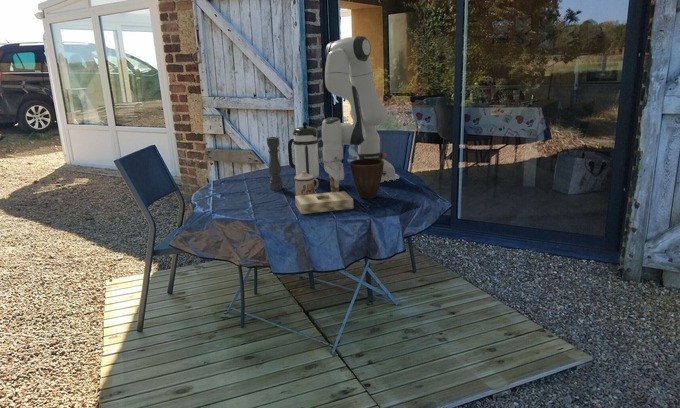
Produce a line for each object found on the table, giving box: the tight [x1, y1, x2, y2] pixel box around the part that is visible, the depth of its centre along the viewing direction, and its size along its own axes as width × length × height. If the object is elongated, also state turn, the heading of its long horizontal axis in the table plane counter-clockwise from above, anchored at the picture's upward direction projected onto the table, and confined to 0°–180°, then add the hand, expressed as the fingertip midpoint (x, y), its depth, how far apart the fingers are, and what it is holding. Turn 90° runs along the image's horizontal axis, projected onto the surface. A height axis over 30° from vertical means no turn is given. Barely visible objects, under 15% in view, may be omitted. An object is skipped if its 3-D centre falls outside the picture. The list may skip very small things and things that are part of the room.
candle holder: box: [266, 136, 284, 191], centre depth 236 cm, size 6×6×25 cm
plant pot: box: [349, 159, 384, 200], centre depth 217 cm, size 15×15×16 cm
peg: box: [329, 174, 340, 192], centre depth 218 cm, size 4×4×10 cm
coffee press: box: [287, 121, 323, 182], centre depth 251 cm, size 17×16×30 cm
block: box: [294, 190, 354, 215], centre depth 206 cm, size 22×14×4 cm, turn 105°
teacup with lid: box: [293, 171, 320, 196], centre depth 223 cm, size 12×9×12 cm
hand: (334, 185), depth 218 cm, fingers closed on peg, 4 cm apart
